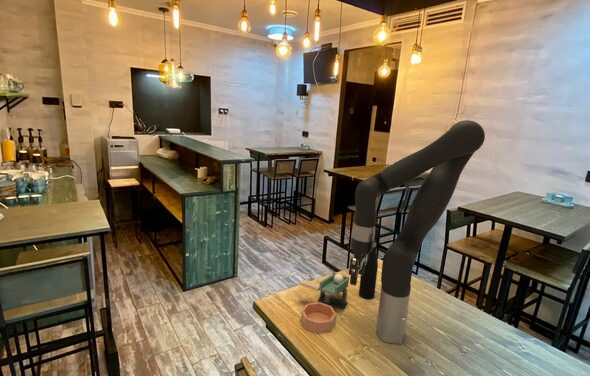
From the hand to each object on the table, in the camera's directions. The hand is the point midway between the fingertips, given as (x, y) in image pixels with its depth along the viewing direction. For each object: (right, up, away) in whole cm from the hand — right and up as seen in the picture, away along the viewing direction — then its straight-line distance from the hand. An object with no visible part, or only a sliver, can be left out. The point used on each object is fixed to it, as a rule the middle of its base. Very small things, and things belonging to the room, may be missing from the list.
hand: (356, 279), depth 111 cm
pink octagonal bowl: (-13, -16, +3) cm, 21 cm away
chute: (-10, -9, +15) cm, 20 cm away
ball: (-4, -5, +17) cm, 18 cm away
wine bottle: (+8, -13, +22) cm, 27 cm away
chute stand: (-7, -14, +15) cm, 21 cm away
